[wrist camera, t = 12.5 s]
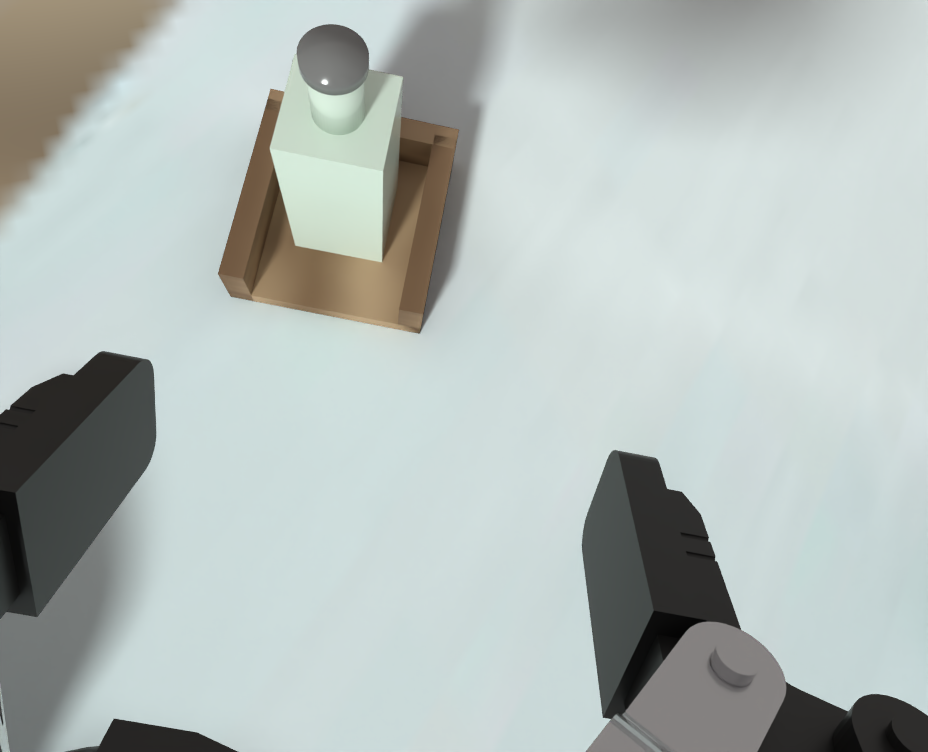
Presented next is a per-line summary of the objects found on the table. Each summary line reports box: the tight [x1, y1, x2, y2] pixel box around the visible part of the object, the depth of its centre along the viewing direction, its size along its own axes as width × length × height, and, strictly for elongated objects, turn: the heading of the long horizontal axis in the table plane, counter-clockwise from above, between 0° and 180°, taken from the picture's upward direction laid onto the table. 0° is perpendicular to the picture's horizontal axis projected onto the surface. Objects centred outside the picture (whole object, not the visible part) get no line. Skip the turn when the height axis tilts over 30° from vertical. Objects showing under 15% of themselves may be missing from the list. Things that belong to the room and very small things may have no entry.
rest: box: [218, 89, 459, 333], centre depth 37 cm, size 10×11×3 cm
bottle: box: [270, 24, 403, 262], centre depth 32 cm, size 5×5×12 cm
